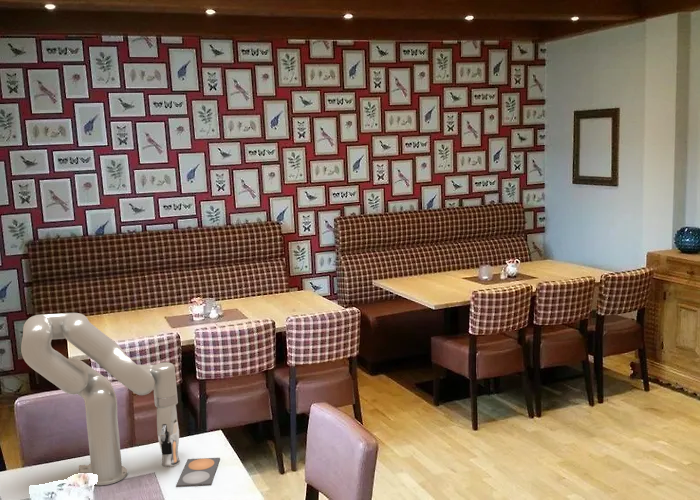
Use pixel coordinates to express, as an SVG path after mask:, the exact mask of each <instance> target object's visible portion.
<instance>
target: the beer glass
mask: <svg viewBox="0 0 700 500" xmlns="http://www.w3.org/2000/svg"><path fill="white" fill-rule="evenodd" d="M168 433H169V432H168V430H167V429H166V434H168ZM166 437H167V439H168V436H166ZM157 438H158V444H159V447H160V451H161V452H162V447H161V436H158V435H157ZM170 442H171V446H172V454H166V455H163V454H162V453H161V466H162V467H163V468H173V467H176V466H178V465H179V464H180V463H181V460H180V455H179V443H180V429H179V422H178V418H177V419H176V422H175V423H174V427H173V434H172V435H171V436H170Z"/></svg>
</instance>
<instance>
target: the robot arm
mask: <svg viewBox="0 0 700 500" xmlns="http://www.w3.org/2000/svg"><path fill="white" fill-rule="evenodd" d="M64 339H65V340H66V341H68V342H69V344H71V345H72V346H73V347H75V348H76V349H78V350H79V351H80V352H82V353H83V354H84V355H86V356H87V357H89V358H90V359H91V360H92V361H94V362H95V363H97V364H98V365H99V366H100V367H101V368H102V369H103V370H104V371H106V372H107V373H108V374H110V375H111V376H112V377H113V378H115V379H116V380H117V381H118V382H119V383H121V385H123V386H124V387H126V388H127V389H128V390H130V391H132V392H133V393H134V394H136V395H138V396H145V395H148V394H150V393H151V392H152V391H153V397H154V398H153V399H154V406H155V407H156V428H157V429H156V430H157V431H156V433H157V437H158V436H161V447H162V451H161V455H162V454H163V455H166V454H172V446H171V442H170V436H171V435H172V434H173V427H174V423H175V422H176V419H177V420H178V413H177V405H178V403H179V401H178V389H177V377H176V368H175V365H174V363H171V362H166V361H165V362H157V363H155V364H137V363H136V362H135V361H133V360H132V359H131V357H129V356H128V355H127V353H126V352H125V351H124V350H123V349H122V347H121V346H120V345H119V344H118V343H117V342H115V341H114V340H113V339H112V338H111V337H109V336H108V335H106V333H104V332H103V331H102V330H100V329H99V328H98V327H96V326H95V325H94V324H93V323H91V321H89V318H88V317H87V316H86V315H85V314H83V313H78V312H63V313H46V314H45V313H43V314H35V315H32V316H31V317H29V318H28V319H26V321H25V323H24V324H23V329H22V339H21V345H20V347H21V348H20V351H21V355H22V358H23V360H24V362H25V363H26V364H27V366H29V368H31V369H32V370H34V371H35V372H36V373H37V374H39V375H41V376H42V377H43V378H44V379H46V380H47V381H49V382H50V383H52V384H53V385H55V386H56V388H58V389H60V390H61V391H62V392H63V393H65V394H68V395H78V396H79V397H80V398H82V399H83V400H84V406H85V407H84V409H85V419H86V431H87V439H88V449H89V450H88V451H89V460H90V463H89V464H79V465H78V472H79V473H84V474H87V473H93V474H97V475H98V482H97V485H96V486H107V485H112V484H115V483H118V482H120V481H122V480H124V479H125V478H126V477H127V476H128V469H127V468H126V467H125V466H123V464H122V454H121V444H120V443H121V442H120V441H121V440H120V431H119V423H118V422H119V420H118V399H117V394H116V391H115V390H114V387H113V385H112V383H111V382H110V380H109V379H108V378H107V377H106V376H104V375H102V374H101V373H99V372H98V371H97V370H95V369H94V368H93V367H92V366H90V365H88V364H87V363H86V362H84V361H82V360H81V359H78V358H74V357H70V358H67V357H66V356H64V355H63V354H62V353H60V352H59V351H58V350H55V349H54V348H53V347H52V340H64ZM166 429H167V430H168V432H169V433H168V434H166ZM166 436H168V439H167V437H166Z"/></svg>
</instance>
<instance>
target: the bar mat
mask: <svg viewBox="0 0 700 500" xmlns="http://www.w3.org/2000/svg"><path fill="white" fill-rule="evenodd" d="M220 461H221V457H208V458H207V457H204V458H187V459H186V463H185V465H184V467H183V469H182V471H181V472H180V475H179V478H178V480H177V482H176V484H175V487H176V488H182V487H201V486H202V487H204V486H212V483H213V481H214V478H215V475H216V472H217V470H218V467H219V463H220Z"/></svg>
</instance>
